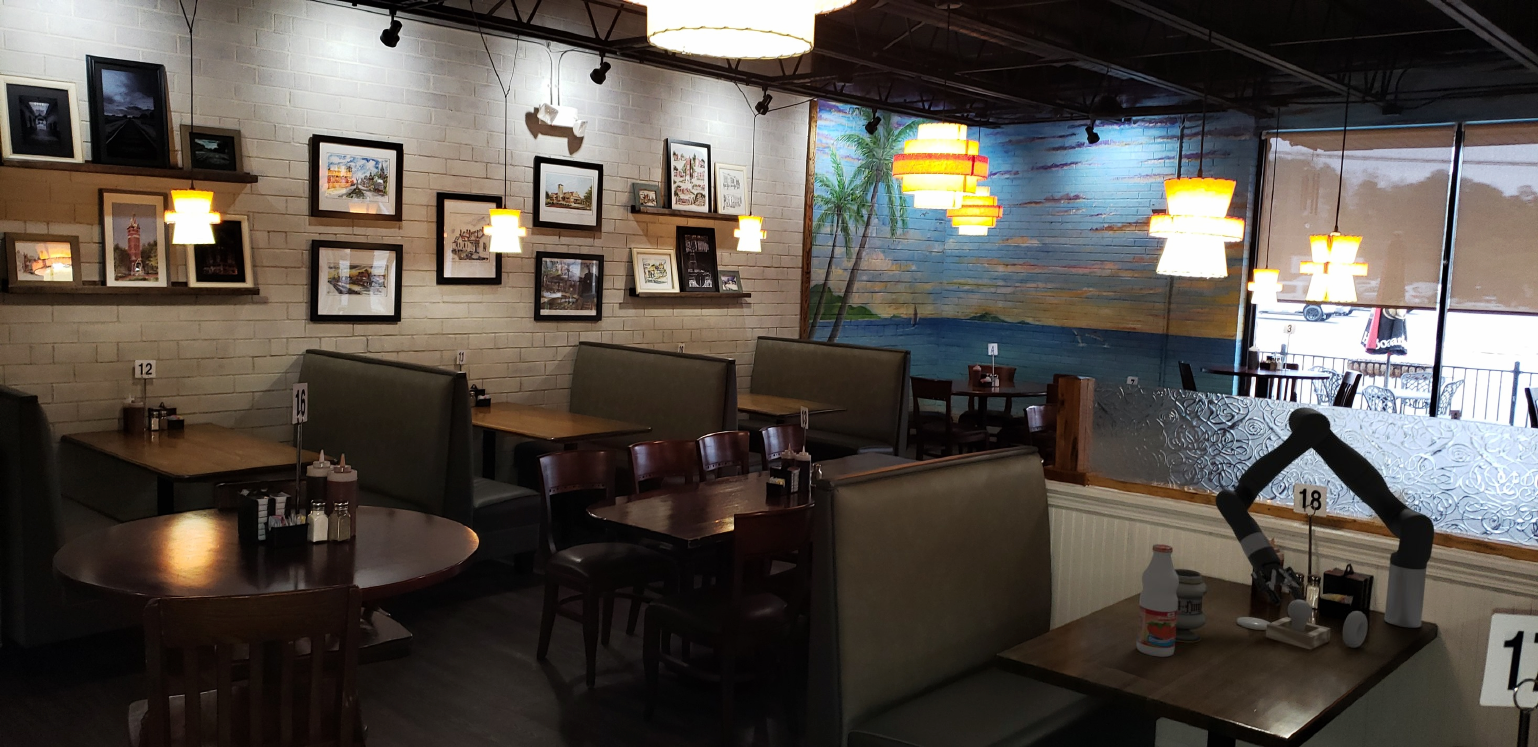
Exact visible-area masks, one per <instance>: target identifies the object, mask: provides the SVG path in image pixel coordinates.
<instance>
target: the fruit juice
mask: <svg viewBox="0 0 1538 747" xmlns="http://www.w3.org/2000/svg"><path fill="white" fill-rule="evenodd" d="M1151 550H1152V552H1153V553H1152V557H1151V559H1150V561H1149V564H1148V565H1147V567H1146V568H1145V569H1144V570H1143V572H1142V575H1141V584H1142V591H1141V592H1140V596H1139V602H1138V603H1139V604H1138V605H1139V606H1138V618H1137V633H1136V648H1137V650H1138V651H1139V652H1141V653H1143V654H1144V655H1148V656H1153V657H1161V658H1163V657H1165V658H1166V657H1171V656H1173V655H1174V653H1175V649H1176V646H1175V645H1176V641H1175V636H1176V623H1177V610H1178V598H1177V595H1176V591H1177V588H1178V585H1179V578H1178V575H1177V573H1176V572H1175V569H1176V568H1175V566H1174V564H1173V560H1172V554H1173V551H1174V550H1173V546H1171V545H1168V544H1161V543H1158V544H1157V543H1155V544H1153V545H1152V548H1151Z"/></svg>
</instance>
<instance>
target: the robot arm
mask: <svg viewBox="0 0 1538 747" xmlns="http://www.w3.org/2000/svg"><path fill="white" fill-rule="evenodd" d="M1287 422H1288V428H1289V430H1290V431H1291V433H1290V434H1289V435H1288V436H1287V438H1286V439H1285V440H1283V442H1281V443H1280V444H1279V445H1278V446H1277V447H1275V448H1273V449H1272V450H1270V451H1269V452H1267V453H1266V454H1263V455H1262V456H1260V457H1259V458H1258V459H1257V460H1255V461H1254V462H1253V463H1252V464H1251V465H1250V466H1249V467H1248V468H1247V469H1246V470H1245V471H1244V472H1243V473H1242V474H1241V475H1240V477H1239V478H1238V485H1237V486H1236V487H1235V488H1234V490H1232V489H1227V488H1226V489H1223V490H1219V492H1218V493H1217V494H1216V496H1215V506H1216V508H1217V510H1218V512H1219V513H1220V514H1221V516H1222V517H1223V519H1224V520H1225V521H1226V523H1227V525H1229V527H1230V529H1231V530H1232V531H1233V533H1234V536H1235V537H1236V539H1237V541H1238V543H1239V544H1240V546H1241V549H1242V552H1244V555H1245V557H1246V558H1247V560H1248V561H1249V563H1250V565H1251V567H1252V568H1253V570H1254V571H1253V572H1251V574H1250V577H1251V579H1252V580H1253V583H1254V584H1255V587H1256V588H1257V590H1258V592H1260V594H1262V593H1264V594H1266V595H1267V596H1268V597H1269V599H1270V601H1271V603H1272V604H1273V605H1274V606H1280V604H1282V599H1281V598H1280V596H1279V594H1278V593H1277V591H1276V590H1275V586H1281V587H1283V588H1286V589H1287V590H1289V591H1290V593H1291V595H1292V597H1293V599H1294V600H1304V601H1305V598H1304V596H1303V594H1302V592H1301V590H1300V589H1299V587H1301V586H1302V585H1303V583H1302V581H1301V579H1300V578H1299V577H1298V575H1297V574H1296V572H1295V571H1294V569H1293V568H1292V567H1291V566H1287V567H1286V568H1284V567H1283V566H1281V558H1280V557H1279V555H1278V554H1277V551H1276V550H1275V549H1274V546H1273V545H1272V543H1271V542H1270V540H1269V538H1268V537H1267V536H1266V535H1265V533H1264V532H1263V531H1262V529H1261V528H1260V527H1261V526H1260V525H1259V524H1258V522H1257V521H1256V520H1255V519H1254V517H1252V515H1251V514H1250V512H1249V511H1248V510H1249V509H1250V508H1251V506H1252V505H1253V503H1254V502H1255V501H1256V500H1257V498H1258V496H1259V494H1260V493H1262V491H1263V490H1264V489H1265V488H1267V486H1268V485H1270V484H1271V483H1272V482H1273V481H1274V479H1275V478H1276V477H1278V476H1279V475H1280V474H1281V473H1282V472H1283V471H1284V470H1285V469H1286V468H1287V467H1289V466H1290V465H1291V464H1292V463H1294V462H1295V461H1296V460H1297V459H1299V458H1300V457H1301V456H1303V454H1306V452H1308V451H1309V450H1310V449H1312V450H1313V451H1314V452H1315V453H1316V454H1317V455H1318V456H1319V457H1320V458H1321V459H1322V461H1323V462H1324V463H1325V464H1326V465H1327V467H1328V468H1329V469H1330V470H1331V472H1333V474H1334V475H1335V476H1336V477H1337V478H1338V479H1339V480H1340V481H1341V482H1342V483H1343V485H1344V486H1346V487H1347V489H1349V490H1350V491H1351V492H1352V493H1353V494H1354V495H1355V496H1356V497H1357V498H1359V500H1361V501H1362V502H1363V503H1364V504H1365V505H1366V506H1368V507H1369V508H1370V509H1371V510H1372V511H1373V512H1374V513H1375V514H1376V515H1377V517H1378V518H1379V519H1380V520H1381V522H1382V523H1383V524H1384V525H1385V527H1386V528H1387V529H1388V531H1390V533H1391V535H1393V536H1394V537H1396V538H1398V539H1399V542H1398V549H1397V551H1393V552H1392V553H1390V557H1389V569H1388V579H1387V590H1386V599H1385V610H1384V621H1385V622H1387V623H1388V624H1391V625H1394V626H1398V627H1404V628H1411V629H1412V628H1413V629H1414V628H1421V626H1422V618H1423V610H1424V609H1423V607H1424V600H1425V598H1424V597H1425V588H1426V577H1427V567H1428V563H1429V561H1430V559H1431V556H1432V552H1433V551H1432V550H1433V544H1434V537H1435V527H1434V526H1435V525H1434V522H1433V521H1432V519H1431V518H1430V517H1429V516H1428V515H1426V514H1424V513H1422V512H1419V511H1416V510H1414V509H1411V508H1410V507H1409V506H1407V505H1406V504H1405V503H1403V502H1402V501H1401V500H1400V499H1399V498H1398V497H1397V496H1396V495H1395V494H1394V493H1393V492H1392V491H1391V490H1390V487H1389V486H1388V484H1387V482H1386V480H1385V478H1384V477H1383V475H1382V474H1381V473H1380V471H1379V470H1378V469H1377V467H1375V466H1374V465H1373V464H1372V463H1371V462H1370V461H1369V460H1368V459H1367V458H1366V457H1365V456H1363V455H1362V454H1361V453H1360V452H1358V451H1357V450H1356V449H1355V448H1353V447H1352V446H1350V444H1348V443H1346V442H1345V441H1343V440H1342V439H1341V438H1340V437H1339V436H1337V434H1336V433H1335V432H1333V430H1332V429H1331V422H1330V420H1329V418H1328V417H1327V416H1326V415H1325V414H1323V413H1322V412H1320V411H1318V410H1316V409H1315V408H1311V407H1308V406H1307V407H1306V406H1305V407H1297V408H1295V409H1294V410H1292V411H1291V413H1290V414H1289V416H1288V420H1287Z"/></svg>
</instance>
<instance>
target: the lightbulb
mask: <svg viewBox="0 0 1538 747" xmlns="http://www.w3.org/2000/svg"><path fill="white" fill-rule="evenodd" d="M1287 614H1288V616H1289V617H1288V618H1290V619H1291V622H1292V629H1293V630H1296V631H1300V632H1304V630H1305V626H1306V623H1309V620H1310V619H1311V618H1312V615H1313V607H1312V606H1311V605H1310V603H1308V601H1306V600H1305V599H1304V600H1295V599H1294V600H1292V601H1291V602H1290V603H1289V604H1288V606H1287Z"/></svg>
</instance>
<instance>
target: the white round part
mask: <svg viewBox="0 0 1538 747" xmlns="http://www.w3.org/2000/svg"><path fill="white" fill-rule="evenodd" d="M1236 623H1237V624H1238V625H1239V626H1240V625H1241V626H1240V627H1243V628H1246V629H1250V630H1256V631H1266V627H1267V624H1270V623H1271V622H1269V621H1267V620H1265V619H1262V618H1257V617H1249V616H1243V617H1241V616H1240V617H1238V618H1236Z"/></svg>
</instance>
